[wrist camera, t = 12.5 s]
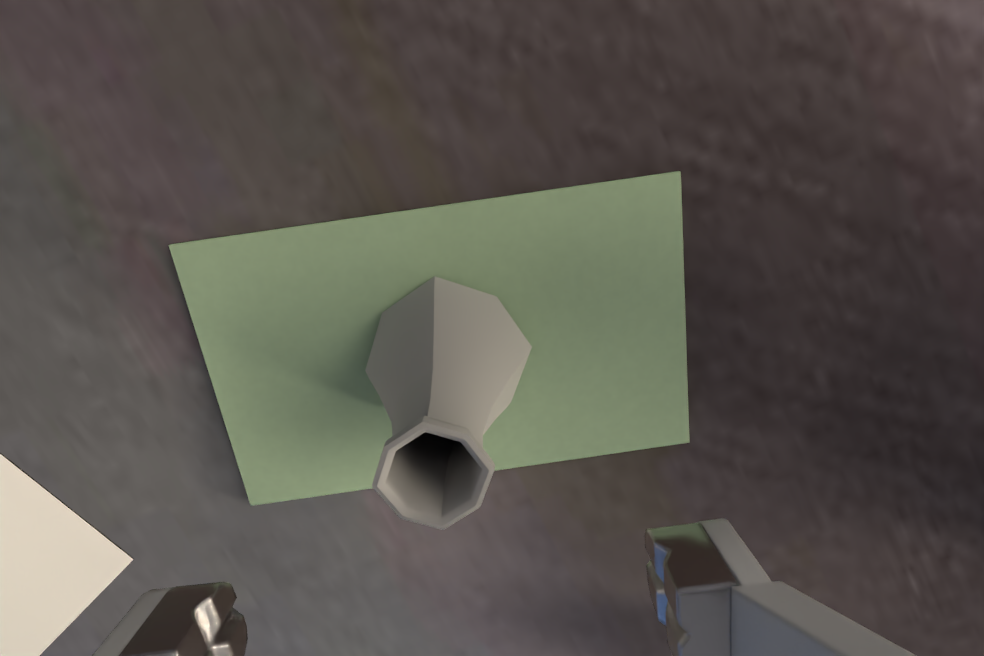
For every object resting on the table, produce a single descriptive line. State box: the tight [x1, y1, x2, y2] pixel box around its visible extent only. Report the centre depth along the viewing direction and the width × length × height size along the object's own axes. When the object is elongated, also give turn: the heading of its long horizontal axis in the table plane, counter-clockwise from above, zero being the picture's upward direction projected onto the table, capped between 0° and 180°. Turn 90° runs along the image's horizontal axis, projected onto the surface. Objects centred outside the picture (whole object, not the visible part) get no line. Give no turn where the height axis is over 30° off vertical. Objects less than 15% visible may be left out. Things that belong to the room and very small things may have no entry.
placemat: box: [169, 171, 689, 506], centre depth 24 cm, size 22×13×1 cm, turn 98°
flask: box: [365, 276, 532, 530], centre depth 19 cm, size 7×7×10 cm
